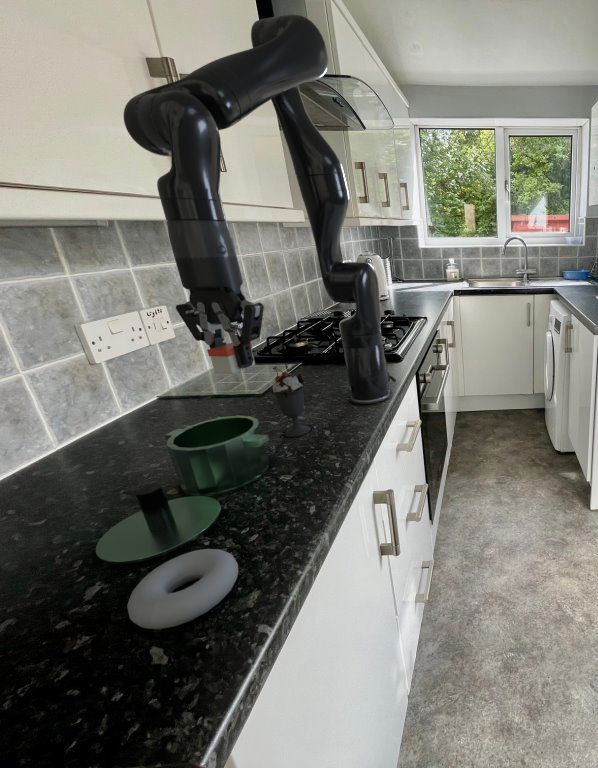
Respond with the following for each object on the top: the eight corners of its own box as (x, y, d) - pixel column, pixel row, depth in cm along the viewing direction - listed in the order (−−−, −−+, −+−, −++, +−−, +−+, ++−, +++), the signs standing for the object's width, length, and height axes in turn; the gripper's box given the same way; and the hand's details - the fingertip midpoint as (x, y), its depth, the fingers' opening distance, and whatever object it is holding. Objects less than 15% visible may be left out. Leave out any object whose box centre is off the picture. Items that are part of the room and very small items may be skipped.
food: (238, 364, 68) (233, 342, 67) (256, 364, 68) (251, 342, 67) (213, 373, 64) (207, 349, 62) (232, 374, 63) (226, 350, 62)
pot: (214, 453, 78) (202, 413, 75) (298, 460, 75) (288, 418, 72) (149, 491, 67) (131, 445, 64) (244, 501, 64) (230, 454, 61)
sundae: (275, 440, 83) (258, 370, 78) (285, 426, 89) (270, 360, 84) (310, 437, 84) (295, 367, 79) (318, 423, 90) (305, 358, 85)
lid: (170, 498, 65) (156, 459, 63) (244, 506, 63) (232, 466, 60) (69, 561, 52) (47, 515, 50) (157, 574, 50) (137, 527, 48)
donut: (249, 556, 53) (155, 577, 50) (243, 534, 52) (146, 554, 48) (229, 619, 44) (113, 650, 41) (222, 595, 43) (101, 625, 40)
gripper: (267, 252, 62) (290, 361, 68) (188, 254, 64) (216, 358, 70) (227, 254, 55) (256, 375, 61) (140, 256, 58) (176, 372, 63)
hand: (234, 365), depth 66 cm, fingers closed on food, 3 cm apart
